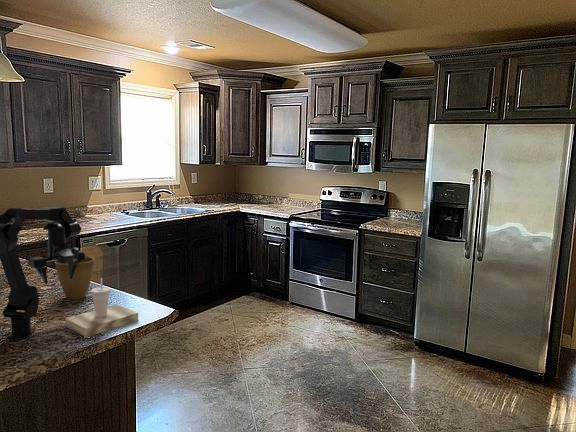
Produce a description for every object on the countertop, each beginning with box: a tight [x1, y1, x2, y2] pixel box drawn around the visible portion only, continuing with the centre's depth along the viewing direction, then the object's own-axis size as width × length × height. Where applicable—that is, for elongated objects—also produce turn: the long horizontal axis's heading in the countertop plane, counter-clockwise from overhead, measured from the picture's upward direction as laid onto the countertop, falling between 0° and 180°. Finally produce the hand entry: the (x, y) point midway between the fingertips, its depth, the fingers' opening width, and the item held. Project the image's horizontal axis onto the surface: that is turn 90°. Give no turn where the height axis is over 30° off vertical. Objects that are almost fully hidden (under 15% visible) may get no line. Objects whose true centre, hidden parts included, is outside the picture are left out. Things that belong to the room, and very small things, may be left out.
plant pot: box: [54, 256, 95, 300], centre depth 188 cm, size 15×15×16 cm
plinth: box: [64, 303, 139, 338], centre depth 160 cm, size 20×14×3 cm
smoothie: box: [90, 277, 111, 317], centre depth 159 cm, size 6×6×14 cm
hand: (58, 281), depth 165 cm, fingers open, 9 cm apart
